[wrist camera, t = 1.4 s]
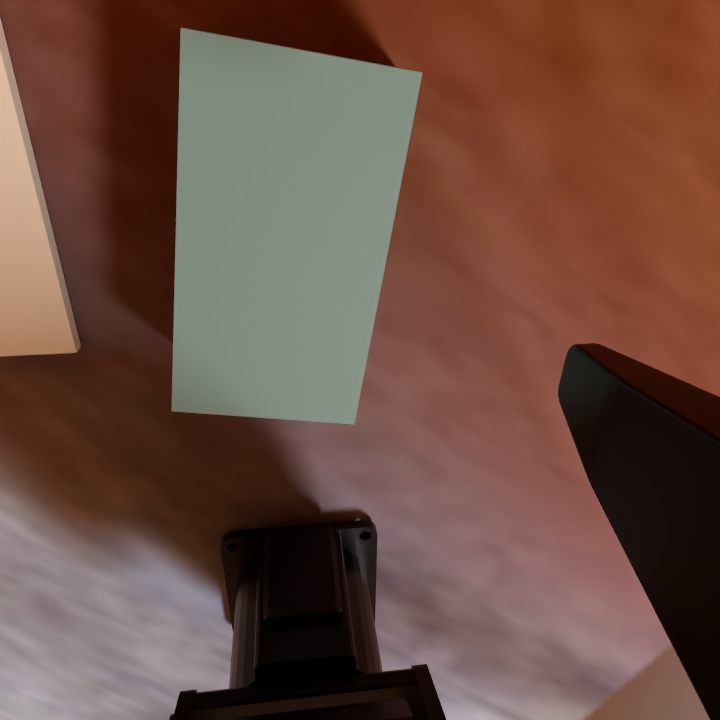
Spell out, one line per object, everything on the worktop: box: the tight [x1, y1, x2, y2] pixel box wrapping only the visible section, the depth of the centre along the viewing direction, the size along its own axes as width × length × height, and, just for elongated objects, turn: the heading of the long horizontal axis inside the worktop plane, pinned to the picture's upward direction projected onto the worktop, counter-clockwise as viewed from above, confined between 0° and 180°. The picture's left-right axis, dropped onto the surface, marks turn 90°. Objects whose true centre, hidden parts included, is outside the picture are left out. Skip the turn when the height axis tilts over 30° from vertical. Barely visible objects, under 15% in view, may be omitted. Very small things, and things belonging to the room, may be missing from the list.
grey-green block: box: [172, 28, 422, 424], centre depth 17 cm, size 10×6×4 cm, turn 170°
